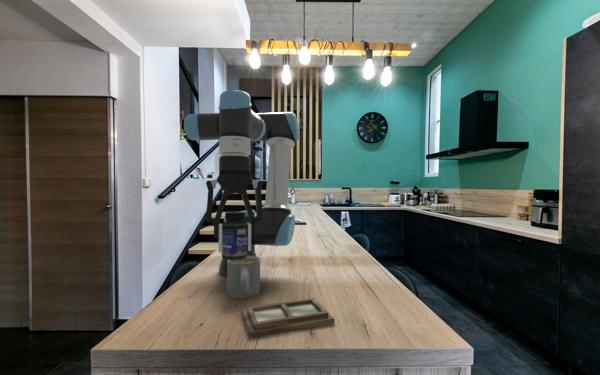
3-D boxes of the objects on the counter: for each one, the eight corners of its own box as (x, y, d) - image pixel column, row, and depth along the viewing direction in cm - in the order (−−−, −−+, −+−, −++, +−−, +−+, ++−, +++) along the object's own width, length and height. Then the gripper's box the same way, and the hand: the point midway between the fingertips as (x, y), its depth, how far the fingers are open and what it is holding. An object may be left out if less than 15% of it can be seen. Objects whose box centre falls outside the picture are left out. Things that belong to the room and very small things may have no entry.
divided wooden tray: (242, 314, 72) (242, 305, 72) (315, 303, 78) (315, 295, 78) (250, 338, 61) (250, 327, 61) (334, 323, 67) (334, 314, 67)
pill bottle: (240, 261, 65) (240, 213, 65) (216, 259, 67) (217, 212, 67) (251, 255, 71) (251, 211, 71) (229, 254, 73) (229, 211, 73)
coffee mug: (231, 286, 92) (231, 255, 92) (262, 286, 92) (262, 255, 92) (220, 302, 79) (220, 267, 79) (255, 303, 79) (255, 267, 79)
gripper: (192, 152, 63) (192, 256, 63) (276, 155, 68) (276, 251, 68) (194, 156, 70) (194, 249, 70) (270, 158, 76) (270, 245, 76)
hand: (234, 250), depth 69 cm, fingers closed on pill bottle, 6 cm apart
